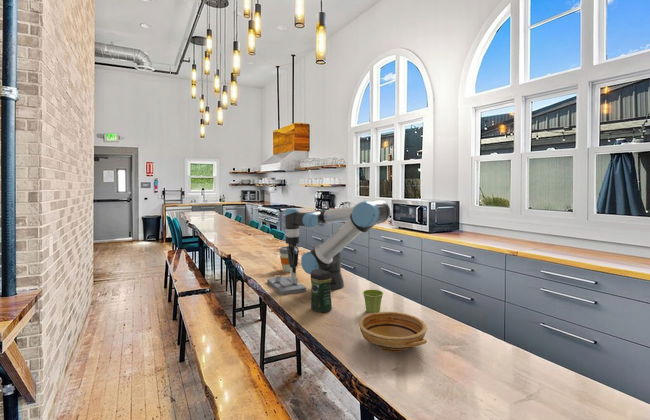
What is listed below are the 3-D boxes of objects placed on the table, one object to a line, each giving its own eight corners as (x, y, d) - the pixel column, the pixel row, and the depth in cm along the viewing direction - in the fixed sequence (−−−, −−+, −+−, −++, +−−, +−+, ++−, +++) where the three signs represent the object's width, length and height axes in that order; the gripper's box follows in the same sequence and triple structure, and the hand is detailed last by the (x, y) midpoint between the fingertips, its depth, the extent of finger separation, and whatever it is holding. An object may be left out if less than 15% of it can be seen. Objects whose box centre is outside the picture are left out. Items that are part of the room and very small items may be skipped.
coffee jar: (334, 310, 165) (334, 270, 164) (321, 314, 160) (321, 273, 158) (321, 304, 173) (320, 266, 171) (308, 308, 167) (307, 269, 166)
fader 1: (280, 281, 204) (280, 275, 204) (275, 282, 203) (275, 276, 202) (279, 280, 206) (279, 275, 205) (274, 281, 204) (274, 275, 204)
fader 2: (297, 283, 199) (297, 277, 199) (292, 284, 198) (292, 278, 198) (296, 282, 201) (296, 277, 201) (291, 283, 200) (291, 277, 200)
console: (306, 291, 193) (306, 287, 193) (281, 295, 187) (281, 291, 187) (289, 279, 217) (289, 275, 217) (267, 282, 211) (267, 278, 211)
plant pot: (385, 309, 166) (386, 290, 165) (380, 316, 157) (380, 297, 156) (366, 306, 170) (366, 288, 169) (359, 313, 161) (359, 294, 160)
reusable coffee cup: (298, 272, 232) (297, 249, 231) (278, 272, 232) (278, 249, 231) (299, 267, 244) (299, 246, 243) (281, 268, 245) (280, 246, 243)
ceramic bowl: (341, 338, 136) (341, 317, 136) (389, 323, 149) (389, 305, 148) (395, 373, 111) (395, 348, 111) (447, 352, 124) (448, 330, 123)
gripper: (282, 235, 203) (283, 276, 205) (289, 238, 192) (291, 281, 194) (294, 234, 207) (295, 274, 209) (303, 237, 195) (304, 279, 197)
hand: (293, 278), depth 201 cm, fingers closed
